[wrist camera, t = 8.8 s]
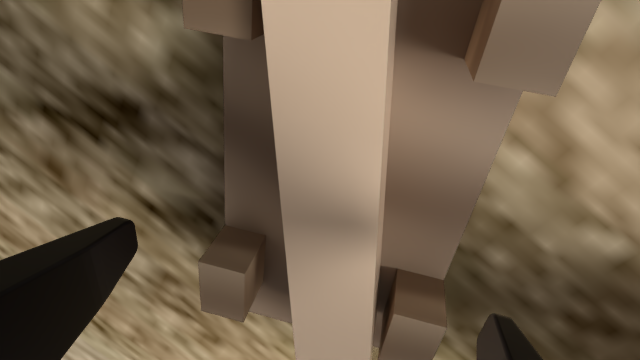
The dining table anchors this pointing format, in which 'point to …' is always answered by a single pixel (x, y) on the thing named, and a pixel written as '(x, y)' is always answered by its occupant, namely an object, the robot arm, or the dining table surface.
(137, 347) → the dining table surface
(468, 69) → the tabbed beige plate
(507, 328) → the robot arm
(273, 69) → the clay strip
